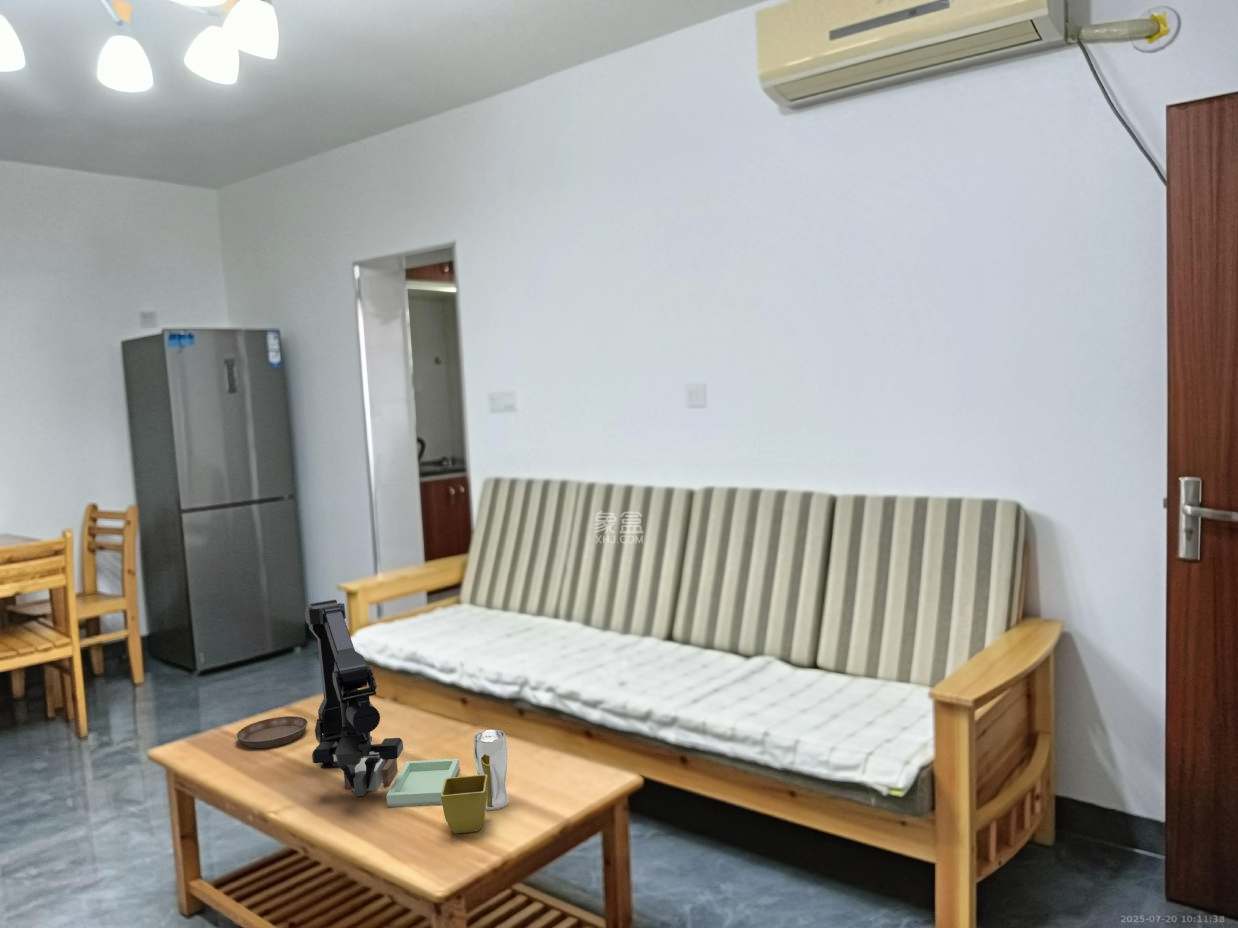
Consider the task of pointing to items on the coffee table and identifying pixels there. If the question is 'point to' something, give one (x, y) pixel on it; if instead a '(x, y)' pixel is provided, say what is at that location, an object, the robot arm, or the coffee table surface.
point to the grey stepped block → (360, 777)
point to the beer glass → (492, 765)
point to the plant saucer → (272, 732)
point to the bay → (387, 771)
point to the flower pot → (464, 802)
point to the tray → (421, 782)
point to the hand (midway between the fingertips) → (361, 787)
